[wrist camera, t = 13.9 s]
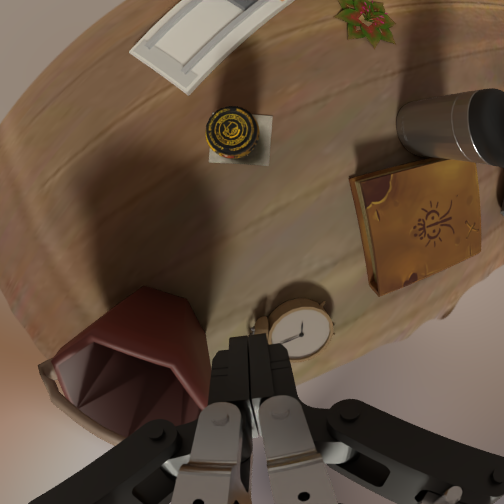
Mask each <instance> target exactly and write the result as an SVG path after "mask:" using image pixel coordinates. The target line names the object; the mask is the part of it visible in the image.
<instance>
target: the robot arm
mask: <svg viewBox="0 0 504 504" xmlns="http://www.w3.org/2000/svg"><path fill="white" fill-rule="evenodd" d="M396 128H397V133H398V136H399V139H400V141H401V142H402V144H403V146H404V147H405V148H406V149H407V150H408V151H409V152H411V153H412V154H414V155H418V156H426V157H435V158H444V159H452V160H460V161H467V162H474V163H481V164H488V165H493V166H499V167H502V168H504V92H503V91H501V90H498V89H483V90H475V91H468V92H463V93H456V94H450V95H445V96H439V97H434V98H429V99H424V100H419V101H414V102H410V103H407V104H405V105H404V106H403V107H402V108H401V109H400V111H399V113H398V116H397V121H396ZM258 429H259V433H260V436H261V437H263V443H264V449H265V454H266V460H267V468H268V474H269V479H270V484H271V490H272V495H273V500H274V504H341V503H338V502H337V499H336V496H335V493H334V490H333V487H332V484H331V482H330V479H329V476H328V473H327V470H326V467H325V464H324V463H326V464H327V465H328V466H329V467H330V468H332V469H334V470H335V471H337V472H339V473H340V474H342V475H344V476H345V477H347V478H349V479H351V480H352V481H354V482H356V483H358V484H360V485H361V486H363V487H365V488H367V489H369V490H371V491H373V492H375V493H377V494H379V495H381V496H383V497H385V498H387V499H389V500H391V501H393V502H395V503H397V504H493V503H494V502H496V501H497V500H498V499H500V497H502V496H503V495H504V457H502V456H499V455H496V454H492V453H489V452H486V451H483V450H480V449H477V448H474V447H471V446H468V445H465V444H462V443H459V442H456V441H454V440H451V439H448V438H446V437H443V436H441V435H438V434H435V433H433V432H430V431H428V430H425V429H423V428H420V427H418V426H415V425H413V424H411V423H408V422H406V421H404V420H401V419H399V418H397V417H395V416H392V415H390V414H388V413H386V412H383V411H381V410H379V409H377V408H375V407H373V406H370V405H368V404H366V403H364V402H362V401H359V400H355V399H346V400H342V401H340V402H337V403H336V404H334V405H333V406H332V407H331V408H330V409H319V408H312V407H310V406H307V405H305V404H304V403H303V402H301V400H300V399H299V397H298V395H297V391H296V386H295V382H294V377H293V373H292V368H291V363H290V359H289V354H288V350H287V349H286V348H285V347H284V346H283V345H282V344H281V343H276V344H269V345H268V342H267V336H266V333H261V334H254V335H249V340H248V336H239V337H231V338H230V339H229V350H222V351H218V352H217V354H216V355H215V357H214V358H213V360H212V370H211V378H210V387H209V396H208V405H207V407H206V408H204V409H203V410H202V412H201V413H200V415H199V418H198V419H196V420H194V421H192V422H189V423H186V424H182V425H179V426H175V425H174V424H173V423H172V422H170V421H168V420H164V419H155V420H152V421H149V422H147V423H146V424H144V425H143V426H142V427H140V428H139V429H138V430H136V431H135V432H134V433H132V434H131V435H130V436H128V437H127V438H126V439H124V440H123V441H121V442H120V443H119V444H117V445H116V446H115V447H113V448H112V449H110V450H109V451H108V452H106V453H105V454H103V455H102V456H101V457H99V458H98V459H96V460H95V461H93V462H92V463H91V464H89V465H88V466H86V467H85V468H83V469H82V470H80V471H79V472H77V473H76V474H74V475H73V476H71V477H70V478H68V479H66V480H65V481H63V482H62V483H60V484H59V485H57V486H55V487H54V488H52V489H51V490H49V491H47V492H46V493H44V494H42V495H41V496H39V497H37V498H36V499H34V500H32V501H31V502H29V503H28V504H169V503H170V502H171V504H252V501H251V486H252V465H253V452H252V451H253V444H252V438H257V437H259V435H258Z"/></svg>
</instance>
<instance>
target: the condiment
mask: <svg viewBox="0 0 504 504" xmlns="http://www.w3.org/2000/svg"><path fill="white" fill-rule="evenodd" d="M272 117H273V116H265V115H252V114H251V113H250V112H248V111H247V110H245V109H243V108H240V107H238V106H237V107H236V106H228V107H224V108H221V109H220V110H217V111H216V112H215V113H212V116H211V117H210V119H209V121H208V123H207V125H206V141H207V143H208V145H209V147H210V152H209V162H211V163H233V164H250V165H263V166H269V157H270V143H271V130H272ZM247 155H248V156H247Z"/></svg>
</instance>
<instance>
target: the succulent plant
mask: <svg viewBox="0 0 504 504" xmlns="http://www.w3.org/2000/svg"><path fill="white" fill-rule="evenodd" d="M338 1H339V3H340V5H341V7H342V8H343V11H341V12H340V13H339V14H338V15H337V16H334V17H336V18H338V19H342V20H343V21H345V22H348V29H347V30H348V36H349V37H348V39H354V38H356V39H357V38H363V37H365V36H366V37H367V39H368V40H369V42H370V43H371V44H372V45H373V47H374V49H375V47H376V46H377V43H379V41H380V39H382V40H384V41H387V42H390V43H393V44H395V45H396V43H395V41H394V39H393V35H392V33H391V31H390V30H389V29H388V28H390V27H392V26H393V25H394V24H396V23H395V22H394V21H393V20H391V19H390V17H388V16H387V15H386V14H388V13H385V9H384V6H383V3H377V2H373V0H372V3H370V2H369V1H368V0H355V1H353V0H338ZM347 5H348V6H350V7H354V8H355V10H354V9H349V7H348V6H347ZM376 9H377V12H374V13H373V11H374V10H376ZM363 13H365V14H367V17H366V18H365V15H364V14H363ZM362 14H363V15H364V18H365V20H366V21H369V22H372V21H374V22H373V23H372V25H370V26H369V27H368V26H366V25H365V24H364V23H362V22H361V21H360V20H359V17H360V16H361V15H362ZM370 17H371V18H370ZM369 19H373V20H369ZM356 26H361V30H357V31H356ZM378 28H380V29H381V31H382V33H383V34H382V33H381V32H380V30H379V29H378Z"/></svg>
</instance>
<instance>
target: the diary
mask: <svg viewBox="0 0 504 504" xmlns="http://www.w3.org/2000/svg"><path fill="white" fill-rule="evenodd" d="M349 183H350V187H351V191H352V195H353V200H354V204H355V209H356V214H357V218H358V223H359V228H360V233H361V239H362V244H363V250H364V256H365V262H366V268H367V274H368V281H369V285H370V287H371V288H372V290H373V291H374V292H375V293H376V294H377V295H378V296H379V297H380V296H382V295H385V294H388V293H390V292H393V291H395V290H398V289H400V288H403V287H405V286H408V285H410V284H412V283H415V282H417V281H420V280H422V279H424V278H427V277H429V276H431V275H433V274H436V273H438V272H440V271H442V270H445V269H447V268H449V267H451V266H453V265H456V264H458V263H460V262H462V261H464V260H466V259H468V258H470V257H472V256H474V255H476V254H478V253H480V252H481V213H480V197H479V186H478V177H477V169H476V163H474V162H467V161H460V160H452V159H444V158H435V157H431V158H427V159H423V160H419V161H415V162H411V163H406V164H402V165H399V166H395V167H391V168H387V169H383V170H379V171H375V172H372V173H368V174H364V175H360V176H357V177H353V178H350V179H349Z"/></svg>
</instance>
